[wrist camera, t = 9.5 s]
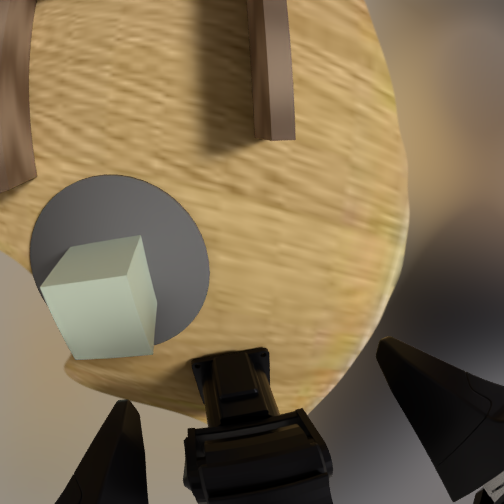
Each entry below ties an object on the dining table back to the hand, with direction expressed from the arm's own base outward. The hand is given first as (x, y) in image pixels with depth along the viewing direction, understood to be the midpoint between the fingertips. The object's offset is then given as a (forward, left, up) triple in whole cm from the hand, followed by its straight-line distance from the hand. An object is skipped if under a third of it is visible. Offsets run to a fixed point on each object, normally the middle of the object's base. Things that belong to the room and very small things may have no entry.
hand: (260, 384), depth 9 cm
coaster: (-1, +7, -11) cm, 13 cm away
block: (-1, +7, -10) cm, 13 cm away
